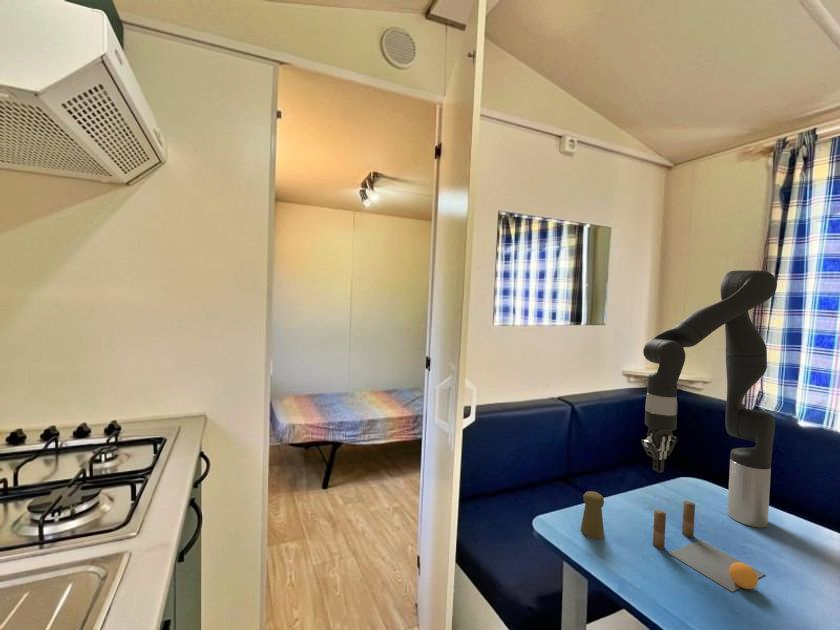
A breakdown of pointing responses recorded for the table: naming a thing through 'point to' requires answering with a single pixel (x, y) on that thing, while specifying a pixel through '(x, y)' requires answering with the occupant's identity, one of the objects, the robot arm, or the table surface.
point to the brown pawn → (593, 516)
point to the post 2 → (688, 519)
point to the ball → (743, 575)
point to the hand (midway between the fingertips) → (658, 470)
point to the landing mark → (710, 563)
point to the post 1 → (659, 529)
